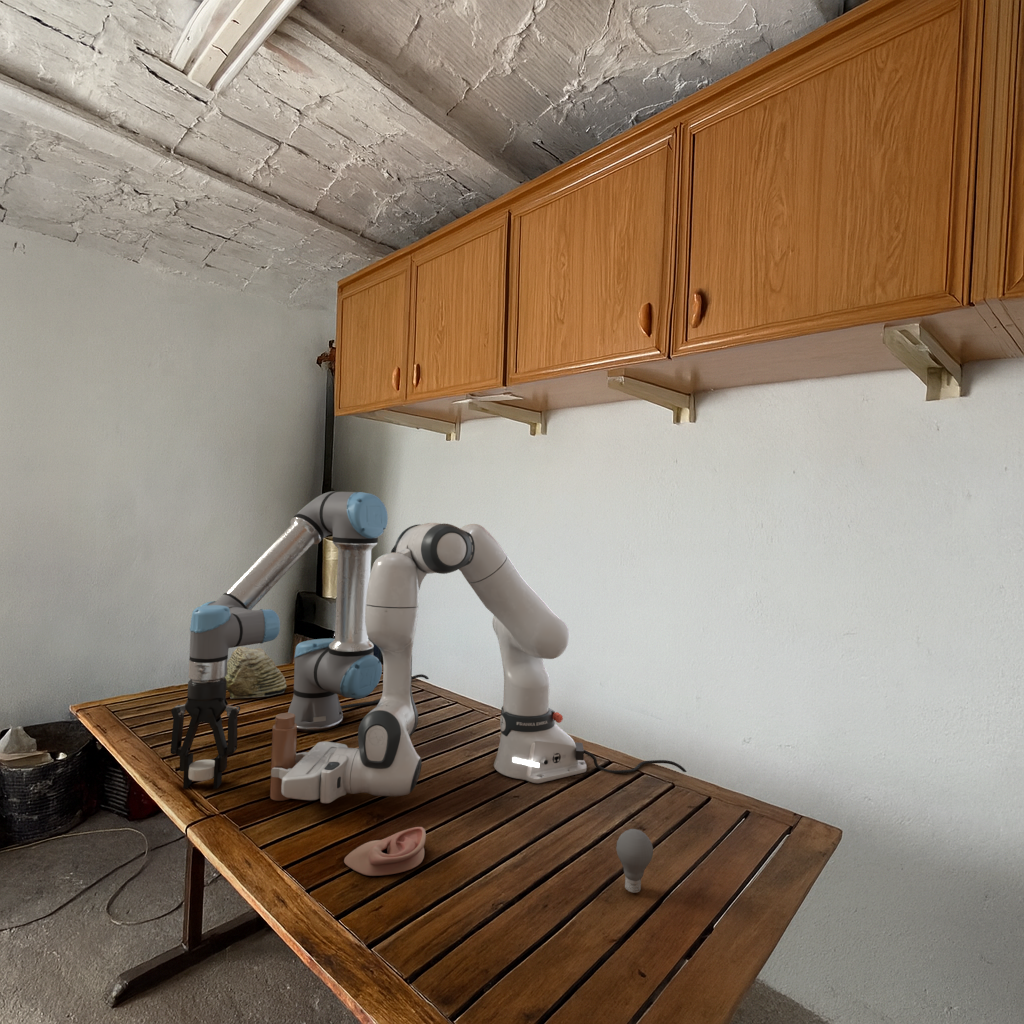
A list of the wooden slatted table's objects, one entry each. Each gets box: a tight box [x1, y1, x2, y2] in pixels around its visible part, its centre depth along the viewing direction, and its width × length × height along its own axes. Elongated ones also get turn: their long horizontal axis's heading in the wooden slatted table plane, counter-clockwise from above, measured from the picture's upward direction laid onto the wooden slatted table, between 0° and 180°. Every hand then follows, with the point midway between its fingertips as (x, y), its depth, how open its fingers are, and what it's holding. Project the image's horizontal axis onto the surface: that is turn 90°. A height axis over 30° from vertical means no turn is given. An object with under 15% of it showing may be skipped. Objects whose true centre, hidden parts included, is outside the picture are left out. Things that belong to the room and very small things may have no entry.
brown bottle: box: [269, 712, 298, 802], centre depth 134 cm, size 5×5×17 cm
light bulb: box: [615, 828, 654, 894], centre depth 106 cm, size 6×6×10 cm
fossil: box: [225, 646, 288, 699], centre depth 198 cm, size 9×18×15 cm, turn 132°
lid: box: [188, 758, 215, 782], centre depth 136 cm, size 6×6×2 cm
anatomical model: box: [343, 826, 427, 877], centre depth 112 cm, size 13×4×12 cm
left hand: (202, 785), depth 136 cm, fingers closed on lid, 5 cm apart
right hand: (279, 764), depth 134 cm, fingers closed on brown bottle, 5 cm apart
